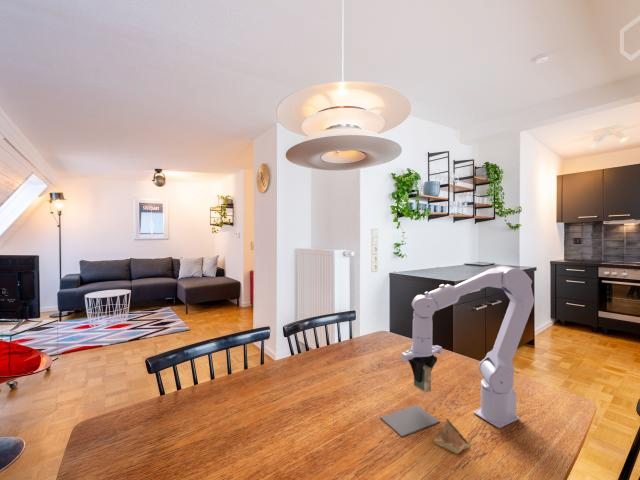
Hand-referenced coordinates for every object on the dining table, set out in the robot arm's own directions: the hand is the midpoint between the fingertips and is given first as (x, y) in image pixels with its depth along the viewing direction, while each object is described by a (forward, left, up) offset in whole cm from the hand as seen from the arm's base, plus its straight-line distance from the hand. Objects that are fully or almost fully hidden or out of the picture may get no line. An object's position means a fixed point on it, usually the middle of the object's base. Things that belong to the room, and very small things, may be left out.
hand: (421, 380), depth 92 cm
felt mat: (+7, +3, -9) cm, 12 cm away
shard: (+4, +13, -10) cm, 16 cm away
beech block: (0, 0, -2) cm, 3 cm away
